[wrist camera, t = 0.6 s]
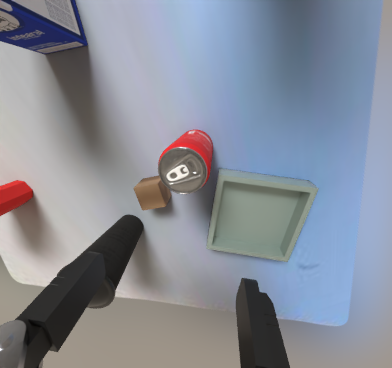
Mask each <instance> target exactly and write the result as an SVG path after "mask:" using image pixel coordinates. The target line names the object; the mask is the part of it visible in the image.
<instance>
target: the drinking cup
mask: <svg viewBox="0 0 392 368" xmlns="http://www.w3.org/2000/svg"><path fill="white" fill-rule="evenodd" d="M142 231H143V224H142V222H141V220H140V219H139V218H137V217H136V216H133V215H125V216H123V217H122V218H120V219H119V220H118V221H117V222H116V223H115V224H114V225H113V226H112V227H111V228H109V229H108V230H107V231H106V232H105V233H104V234H103V235H102V236H101V237H99V238H98V239H97V240H96V241H95V242H94V243H93V244H92V245H91V246H89V247H88V248H87V249H86V250H85V251H84V252H83V253H82V254H81V255H80V256H78V257H77V258H76V259H75V260H80V259H81V258H82V257H83V255H84V254H85V253H86V252H89V251H90V252H96V253H102V254H103V258H104V265H105V271H106V273H105V278H104V280H103V282H102V284H101V286H100V287H99V289H98V290H97V292H96V293H95V295H94V296H93V298H92V300H91V301H90V303H89V304H88V306H87V307H88V308H103V307H106V306H108V305H109V304H110V303H111V302H112V301H113V299H114V297H115V290H116V288H117V286H118V284H119V282H120V279H121V277H122V275H123V273H124V271H125V268H126V266H127V264H128V262H129V259H130V257H131V255H132V253H133V251H134V248H135V246H136V244H137V242H138V240H139V237H140V235H141V233H142ZM63 268H64V267H63ZM63 268H62V269H61V270H60V271H59V272H58V274H59V273H60V272H61V271H62V270H63ZM58 274H57V275H58Z"/></svg>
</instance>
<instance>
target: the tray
mask: <svg viewBox="0 0 392 368" xmlns="http://www.w3.org/2000/svg"><path fill="white" fill-rule="evenodd" d="M317 191H318V188H317V187H316V186H315V185H314V184H312V183H311V182H310V181H308V180H301V179H294V178H287V177H280V176H272V175H265V174H258V173H251V172H244V171H236V170H229V169H222V168H219V171H218V177H217V183H216V189H215V195H214V201H213V207H212V213H211V219H210V225H209V231H208V237H207V248H206V249H212V250H218V251H224V252H230V253H236V254H242V255H248V256H254V257H260V258H266V259H272V260H278V261H284V262H288V260H289V257H290V255H291V253H292V250H293V248H294V246H295V243H296V241H297V238H298V236H299V234H300V231H301V229H302V227H303V224H304V222H305V220H306V217H307V215H308V213H309V210H310V208H311V205H312V203H313V201H314V198H315V196H316V194H317Z"/></svg>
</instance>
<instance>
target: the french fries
mask: <svg viewBox="0 0 392 368" xmlns="http://www.w3.org/2000/svg"><path fill="white" fill-rule="evenodd" d="M32 197H33V190H32V189H31V188H30V187H29V186H28V185H27V184H26V183H25V182H23V181H18V180H16V181H13V182H11V183H8V184H5V185H2V186H0V216H1V215H3V214H5V213H7V212H9V211H11V210H13V209H15V208H17V207H19V206H21V205H22V204H24V203H25V202H27V201H28V200H29V199H31V198H32Z"/></svg>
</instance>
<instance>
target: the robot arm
mask: <svg viewBox="0 0 392 368" xmlns="http://www.w3.org/2000/svg"><path fill="white" fill-rule="evenodd" d="M105 273H106V271H105V265H104V258H103V254H102V253H96V252H90V251H89V252H86V253H85V254H84V255H83V257H82V258H81V259H80V260H74V261H73V262H71V263H70V264H68V265H67V266H65V267H64V268H63V270H62V271H61V272H60V273H59V274H58V275H57V277H55V278H54V279H53V280H52V281H51V282H50V284H49V285H48V286H47V287H46V288H45V289H44V290H43V291H42V292H41V293H40V294H39V295H38V296H37V297H36V298H35V300H34V301H33V302H32V303H31V304H30V305H29V306H28V307H27V308H26V309H25V310H24V311H23V312H22V314H20V316H19V317H17V318H16V319H15V320H13V321H9V322H7V323H4V324H2V325H0V368H42V366H43V358H44V356H45V355H46V354H47V352H48V351H49V350H50V351H55V352H58V351H59V349H60V348H61V346H62V345H63V343H64V341H65V340H66V338H67V337H68V335H69V334H70V332H71V331H72V329H73V327H74V326H75V324H76V323H77V321H78V320H79V318H80V317H81V315H82V314H83V312H84V310H85V308H86V307H87V306H88V304H89V303H90V301H91V300H92V298H93V296H94V295H95V293H96V292H97V290H98V289H99V287H100V286H101V284H102V282H103V280H104V278H105ZM236 314H237V327H238V339H239V351H240V363H241V368H290V365H289V362H288V358H287V354H286V351H285V347H284V343H283V339H282V336H281V332H280V329H279V324H278V321H277V318H276V313H275V309H274V306H273V303H272V301H271V300H270V298H269V297H268V295H267V293H262V292H259V287H258V283H257V281H256V280H252V279H246V278H242V279H241V283H240V286H239V289H238V293H237V296H236Z"/></svg>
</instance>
